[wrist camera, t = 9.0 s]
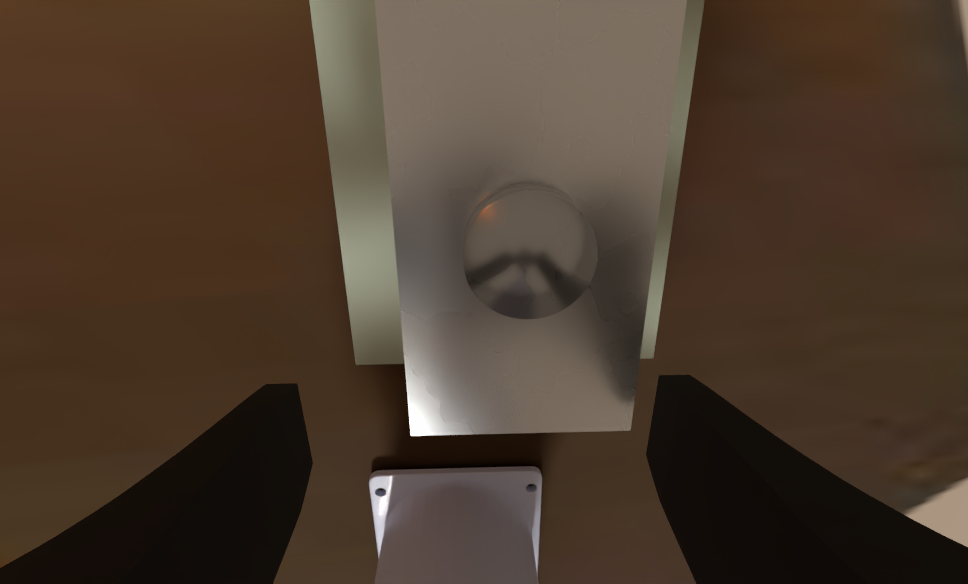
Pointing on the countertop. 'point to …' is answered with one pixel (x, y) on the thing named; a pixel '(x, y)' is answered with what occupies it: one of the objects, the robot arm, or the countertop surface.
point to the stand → (366, 186)
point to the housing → (525, 204)
